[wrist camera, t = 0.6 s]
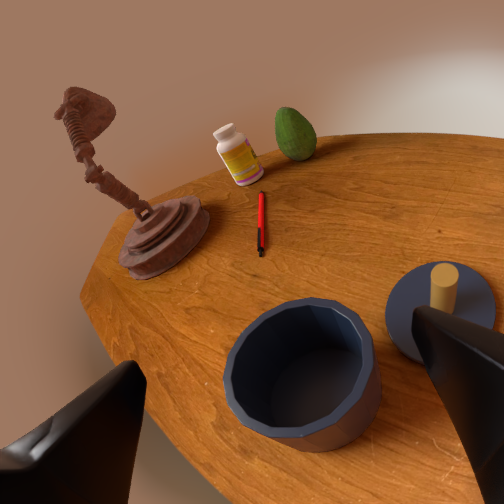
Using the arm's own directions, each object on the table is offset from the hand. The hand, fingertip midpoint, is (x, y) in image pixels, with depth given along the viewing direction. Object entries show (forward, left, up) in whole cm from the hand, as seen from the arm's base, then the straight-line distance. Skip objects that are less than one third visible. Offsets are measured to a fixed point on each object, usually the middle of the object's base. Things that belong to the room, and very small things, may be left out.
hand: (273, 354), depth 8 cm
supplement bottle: (+54, -3, -17) cm, 57 cm away
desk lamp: (+49, +19, -17) cm, 55 cm away
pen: (+36, -1, -17) cm, 40 cm away
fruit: (+50, -15, -17) cm, 55 cm away
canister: (+5, +1, -17) cm, 17 cm away
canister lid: (+6, -12, -16) cm, 21 cm away
